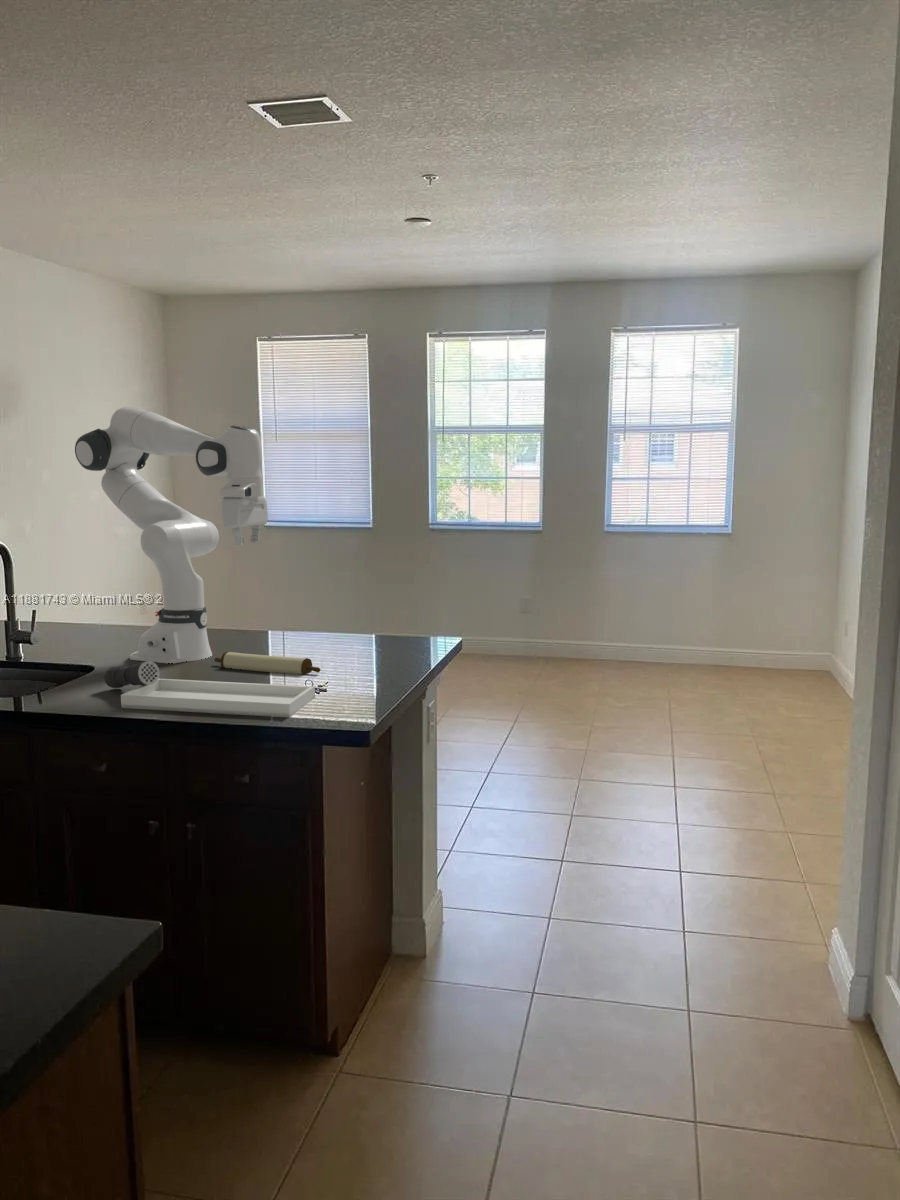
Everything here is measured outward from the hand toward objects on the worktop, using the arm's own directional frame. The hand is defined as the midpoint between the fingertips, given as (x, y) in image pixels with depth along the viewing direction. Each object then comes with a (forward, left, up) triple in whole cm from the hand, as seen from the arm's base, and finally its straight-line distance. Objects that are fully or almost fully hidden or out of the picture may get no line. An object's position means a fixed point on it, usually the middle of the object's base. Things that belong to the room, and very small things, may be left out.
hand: (247, 543), depth 226 cm
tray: (+6, -31, -34) cm, 46 cm away
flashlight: (-22, -23, -35) cm, 47 cm away
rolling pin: (+4, +1, -35) cm, 35 cm away
